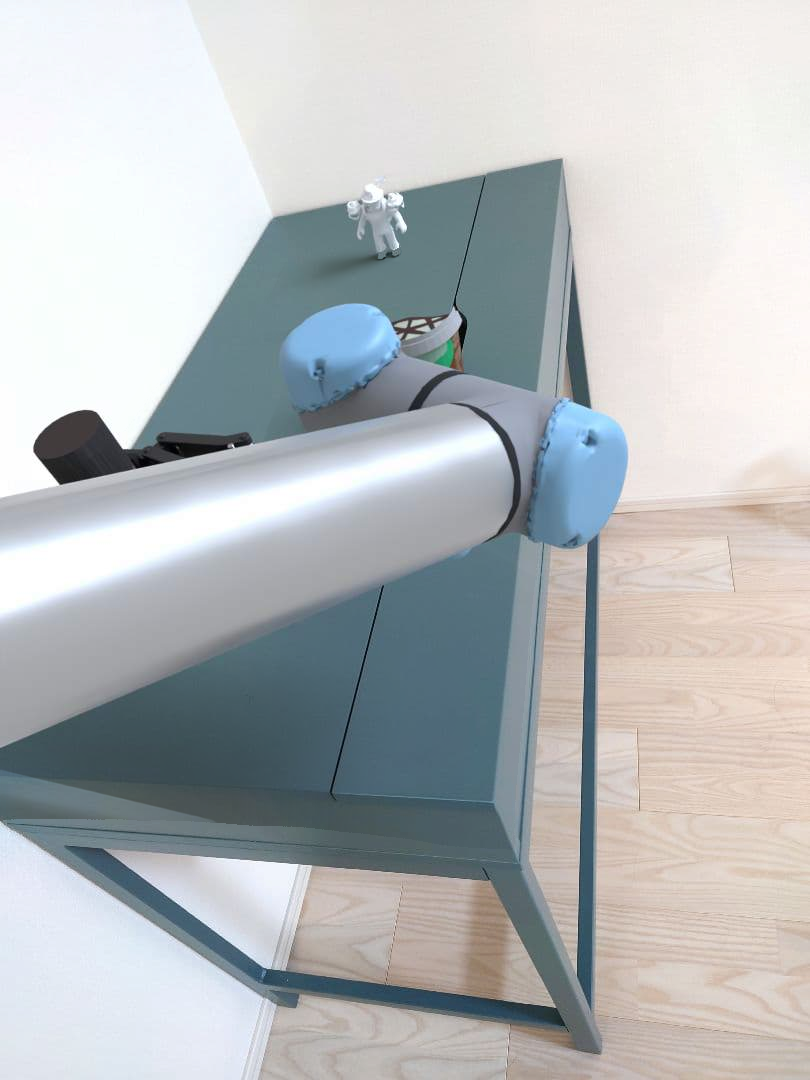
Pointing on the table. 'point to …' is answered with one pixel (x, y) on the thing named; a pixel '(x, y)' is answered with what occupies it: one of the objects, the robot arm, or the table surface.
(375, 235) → the blocky character figurine
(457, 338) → the food container
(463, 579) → the table surface
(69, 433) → the deodorant
